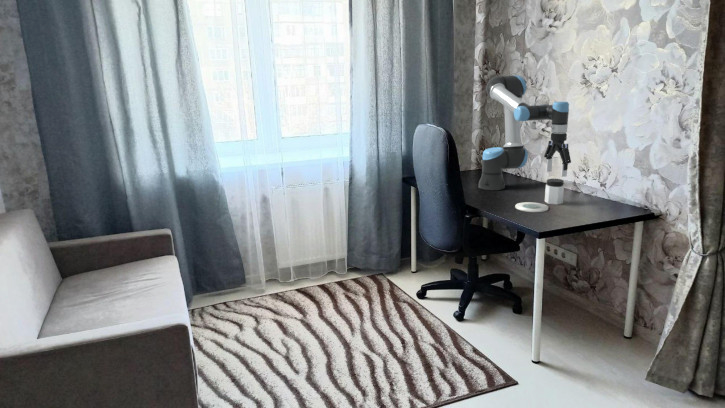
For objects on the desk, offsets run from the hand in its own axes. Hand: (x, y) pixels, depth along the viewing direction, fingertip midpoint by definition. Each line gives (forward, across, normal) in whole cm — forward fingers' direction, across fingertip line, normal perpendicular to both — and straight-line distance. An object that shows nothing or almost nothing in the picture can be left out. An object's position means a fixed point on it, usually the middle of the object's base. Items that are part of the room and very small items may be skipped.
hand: (556, 173), depth 255 cm
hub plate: (+15, +6, -16) cm, 23 cm away
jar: (+16, 0, 0) cm, 16 cm away
